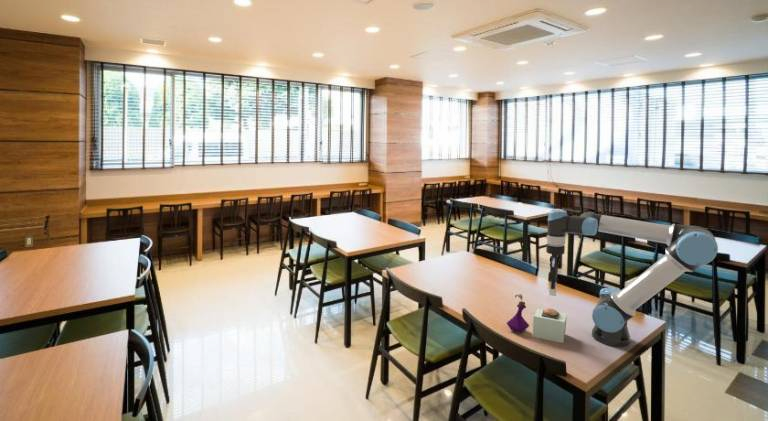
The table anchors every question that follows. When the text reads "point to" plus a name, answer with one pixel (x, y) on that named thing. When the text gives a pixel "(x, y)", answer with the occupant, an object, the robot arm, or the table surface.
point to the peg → (550, 312)
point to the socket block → (549, 326)
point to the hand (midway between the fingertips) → (552, 294)
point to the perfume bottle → (518, 318)
